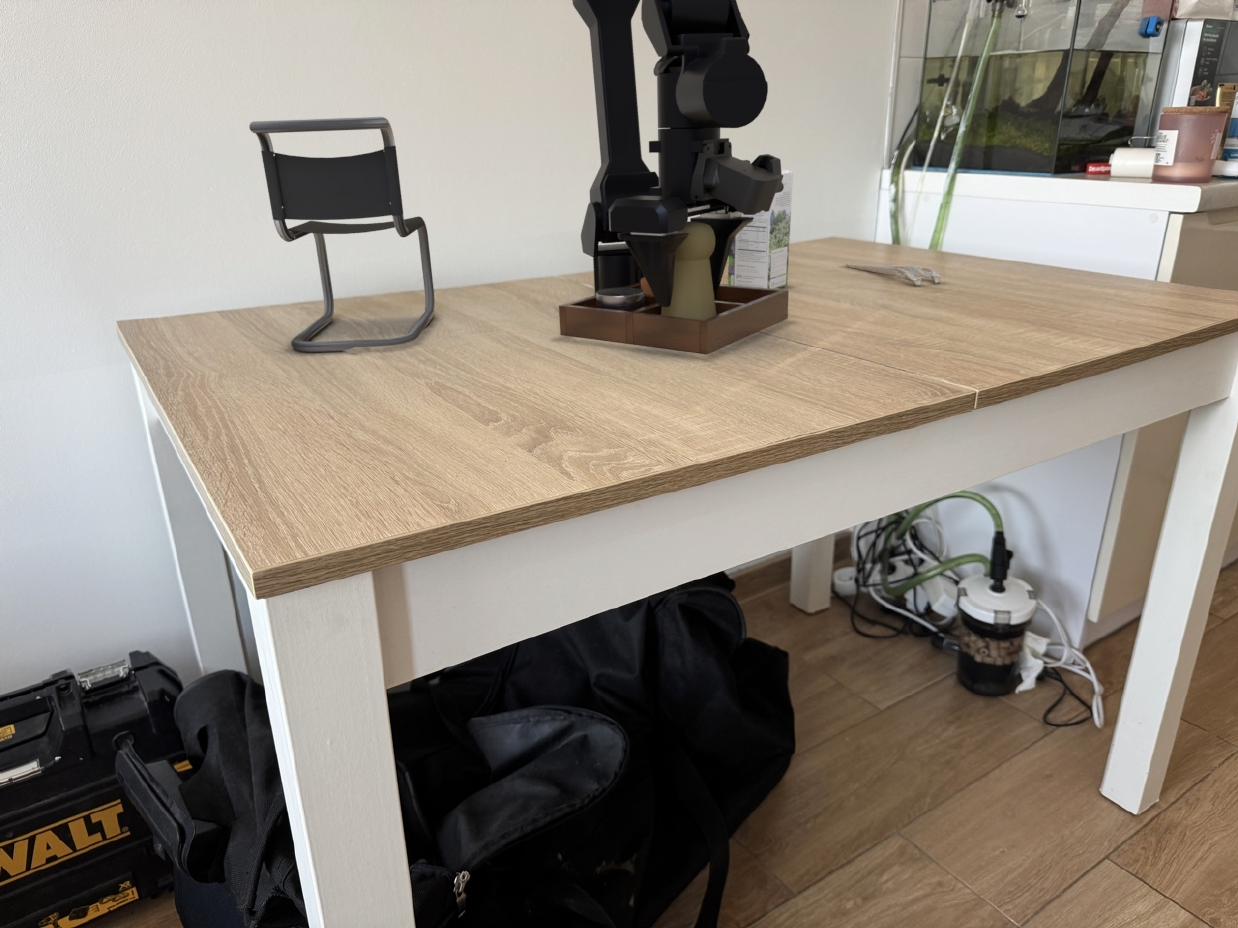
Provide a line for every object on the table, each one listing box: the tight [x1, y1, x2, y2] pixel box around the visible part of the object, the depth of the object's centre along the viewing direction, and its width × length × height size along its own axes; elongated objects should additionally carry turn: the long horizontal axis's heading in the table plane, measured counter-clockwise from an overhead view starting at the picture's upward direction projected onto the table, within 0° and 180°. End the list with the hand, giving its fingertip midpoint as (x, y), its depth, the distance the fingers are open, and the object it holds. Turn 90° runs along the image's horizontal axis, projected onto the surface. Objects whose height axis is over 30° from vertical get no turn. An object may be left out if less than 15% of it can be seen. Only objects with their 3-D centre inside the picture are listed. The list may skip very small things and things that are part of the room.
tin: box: [596, 287, 645, 312], centre depth 94 cm, size 5×5×4 cm
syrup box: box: [727, 168, 794, 289], centre depth 114 cm, size 6×6×14 cm
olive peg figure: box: [661, 220, 716, 320], centre depth 89 cm, size 6×6×11 cm
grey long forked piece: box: [844, 263, 942, 286], centre depth 123 cm, size 17×5×2 cm, turn 22°
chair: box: [248, 116, 436, 353], centre depth 96 cm, size 13×17×22 cm
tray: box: [558, 282, 790, 355], centre depth 95 cm, size 17×17×4 cm
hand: (689, 298), depth 89 cm, fingers open, 9 cm apart
